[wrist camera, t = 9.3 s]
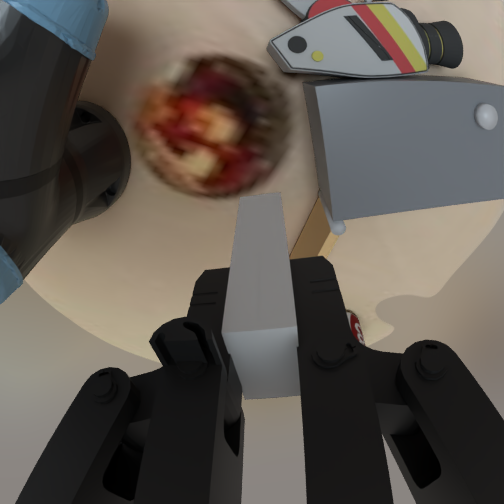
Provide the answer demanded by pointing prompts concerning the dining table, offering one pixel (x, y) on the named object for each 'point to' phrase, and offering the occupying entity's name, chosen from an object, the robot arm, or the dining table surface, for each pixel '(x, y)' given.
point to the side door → (318, 233)
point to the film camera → (363, 40)
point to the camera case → (406, 142)
